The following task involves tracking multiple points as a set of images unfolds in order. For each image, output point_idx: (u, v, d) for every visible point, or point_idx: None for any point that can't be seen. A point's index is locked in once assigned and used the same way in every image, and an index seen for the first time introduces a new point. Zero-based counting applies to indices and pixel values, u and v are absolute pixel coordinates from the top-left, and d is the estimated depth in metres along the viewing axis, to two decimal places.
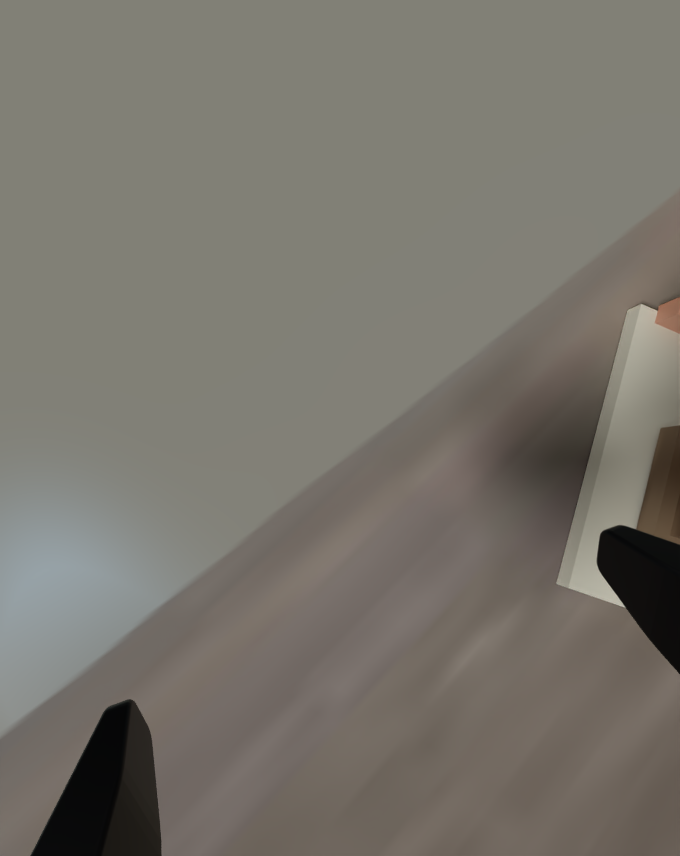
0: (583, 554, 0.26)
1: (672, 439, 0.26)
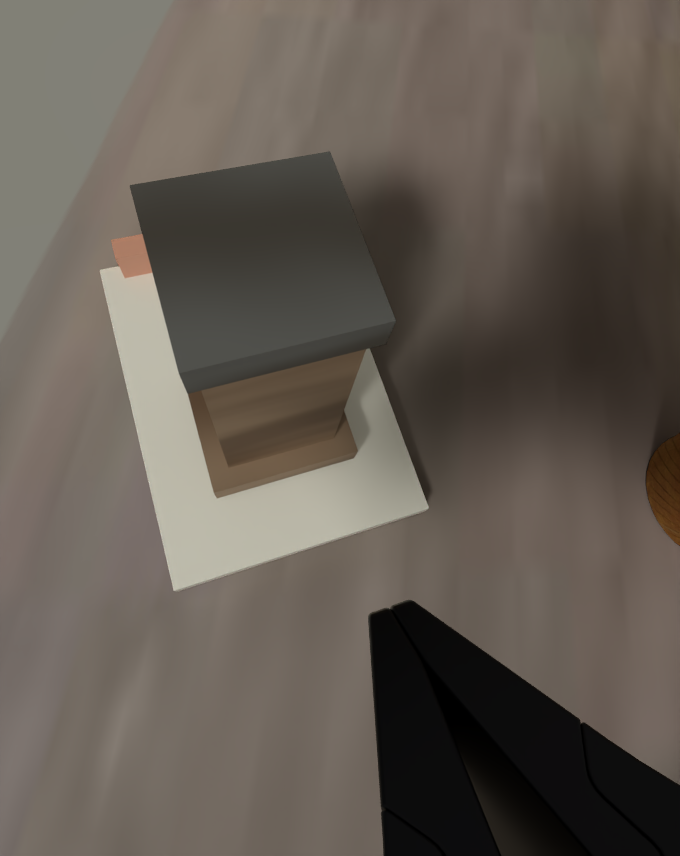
0: (172, 545, 0.21)
1: None
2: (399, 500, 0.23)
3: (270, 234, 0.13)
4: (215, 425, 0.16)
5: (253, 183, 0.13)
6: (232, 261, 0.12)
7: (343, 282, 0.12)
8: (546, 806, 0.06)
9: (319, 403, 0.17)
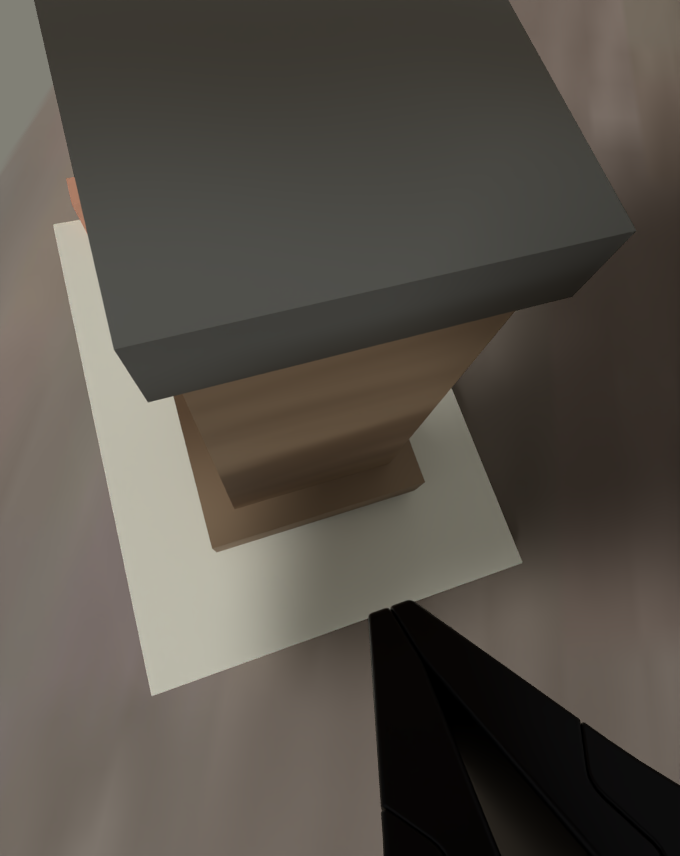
0: (149, 624, 0.14)
1: None
2: (480, 551, 0.16)
3: (337, 40, 0.06)
4: (214, 456, 0.09)
5: None
6: (252, 91, 0.05)
7: (508, 144, 0.05)
8: (546, 806, 0.06)
9: (390, 415, 0.10)
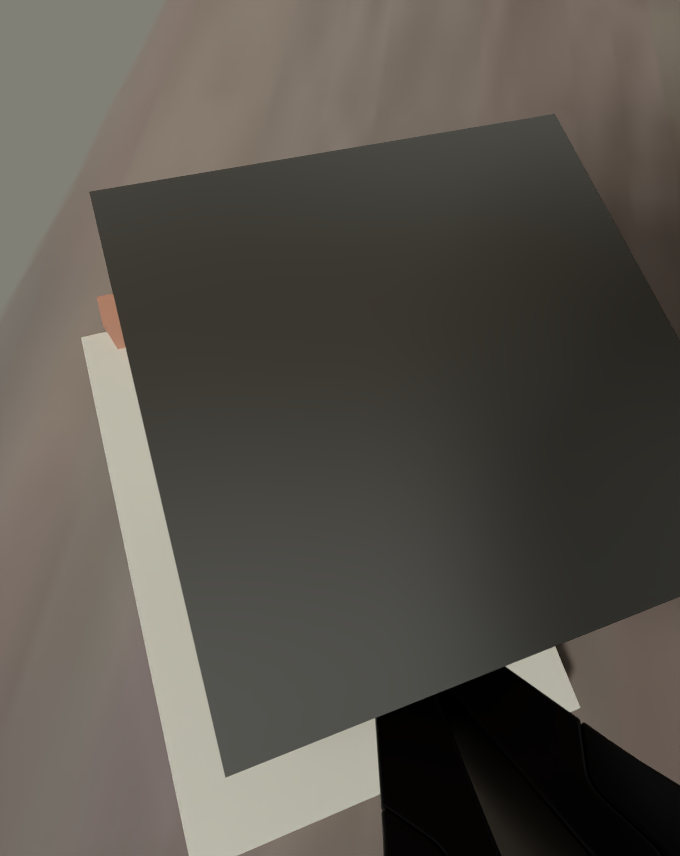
0: (189, 790, 0.13)
1: None
2: None
3: (447, 315, 0.05)
4: None
5: (393, 186, 0.05)
6: (359, 393, 0.05)
7: (644, 443, 0.05)
8: (546, 806, 0.06)
9: None
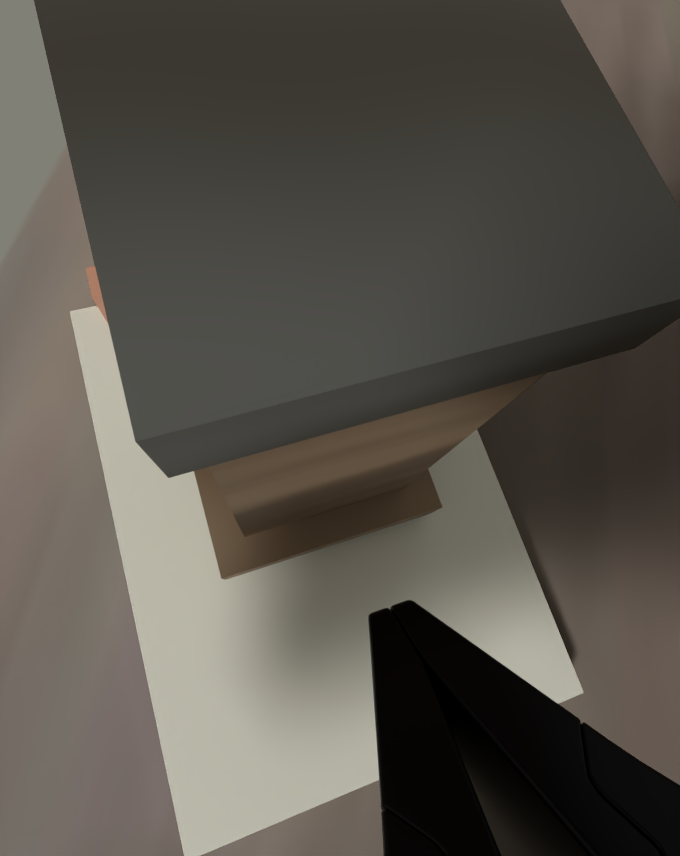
0: (182, 776, 0.13)
1: None
2: (538, 680, 0.15)
3: (382, 65, 0.05)
4: (229, 500, 0.08)
5: None
6: (288, 125, 0.05)
7: (577, 187, 0.05)
8: (546, 806, 0.06)
9: (416, 452, 0.10)
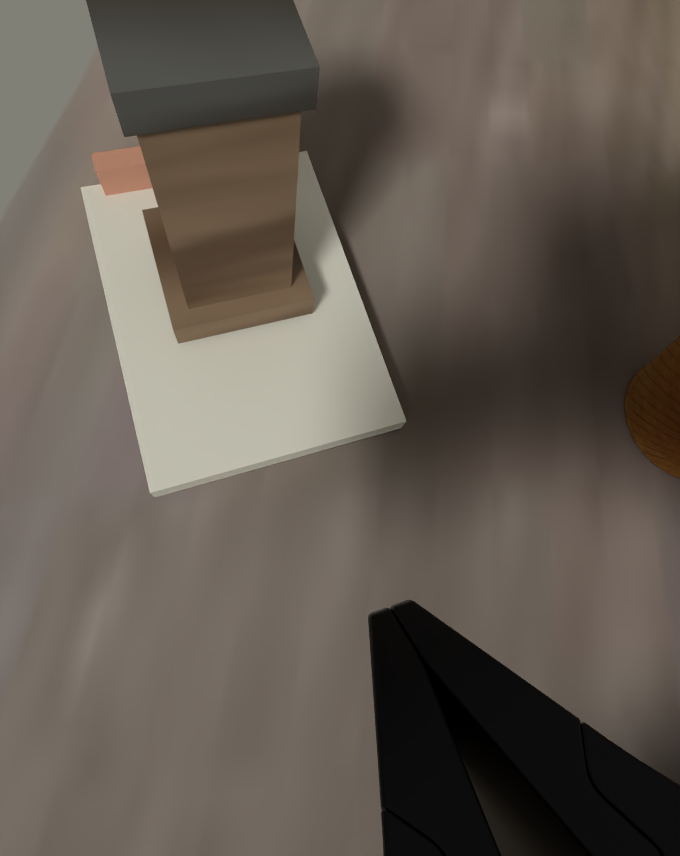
0: (148, 449, 0.21)
1: (146, 227, 0.23)
2: (377, 413, 0.23)
3: None
4: (163, 220, 0.17)
5: None
6: (166, 9, 0.13)
7: (271, 33, 0.13)
8: (546, 806, 0.06)
9: (266, 214, 0.18)
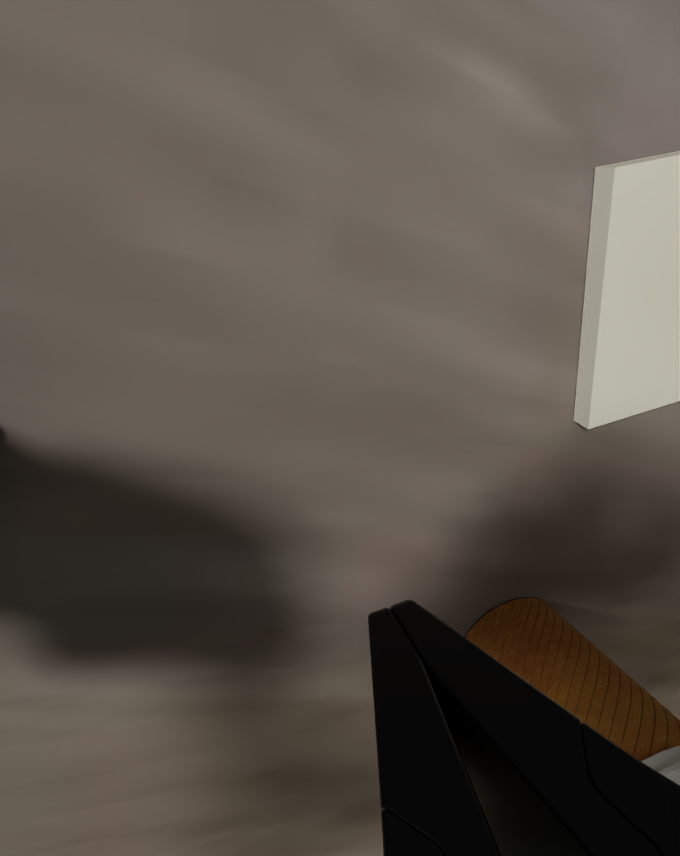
0: (653, 169, 0.20)
1: None
2: (603, 403, 0.24)
3: None
4: None
5: None
6: None
7: None
8: (546, 806, 0.06)
9: None
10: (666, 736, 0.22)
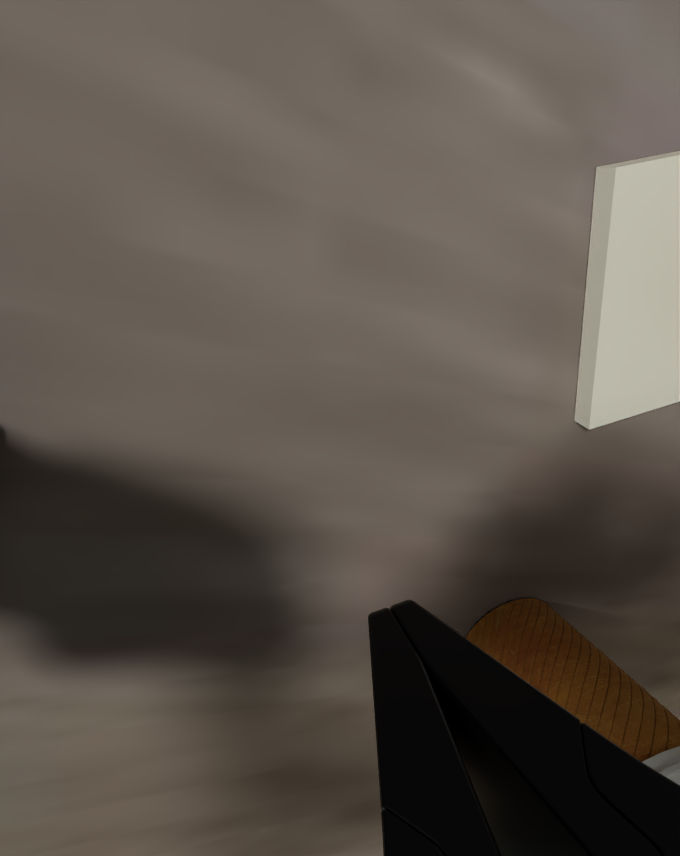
0: (654, 169, 0.20)
1: None
2: (604, 404, 0.24)
3: None
4: None
5: None
6: None
7: None
8: (546, 806, 0.06)
9: None
10: (667, 737, 0.22)
